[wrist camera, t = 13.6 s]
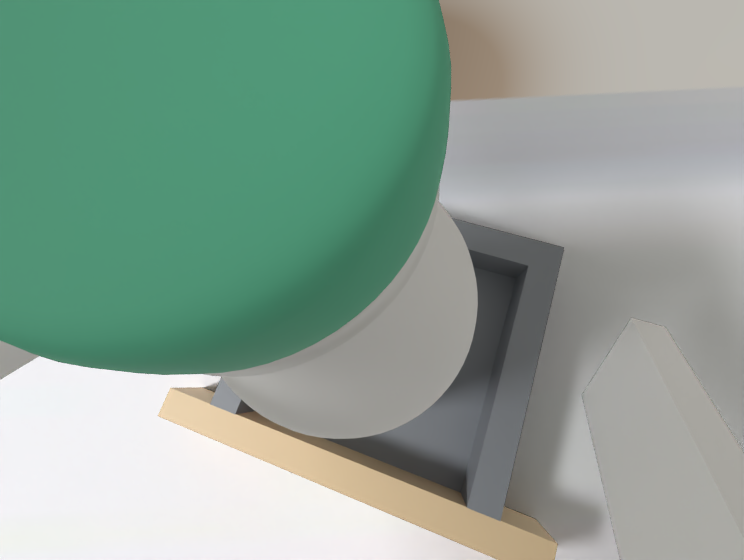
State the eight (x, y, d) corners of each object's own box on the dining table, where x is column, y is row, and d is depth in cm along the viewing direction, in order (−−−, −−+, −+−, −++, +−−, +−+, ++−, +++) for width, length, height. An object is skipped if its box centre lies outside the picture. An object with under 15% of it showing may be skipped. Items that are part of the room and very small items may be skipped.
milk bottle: (311, 286, 23) (-169, -180, 4) (437, 271, 23) (565, -355, 3) (317, 418, 21) (-640, 746, 2) (456, 406, 20) (1066, 718, 1)
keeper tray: (192, 411, 23) (156, 416, 20) (284, 196, 26) (267, 169, 23) (528, 550, 19) (550, 582, 16) (586, 278, 22) (614, 260, 19)
